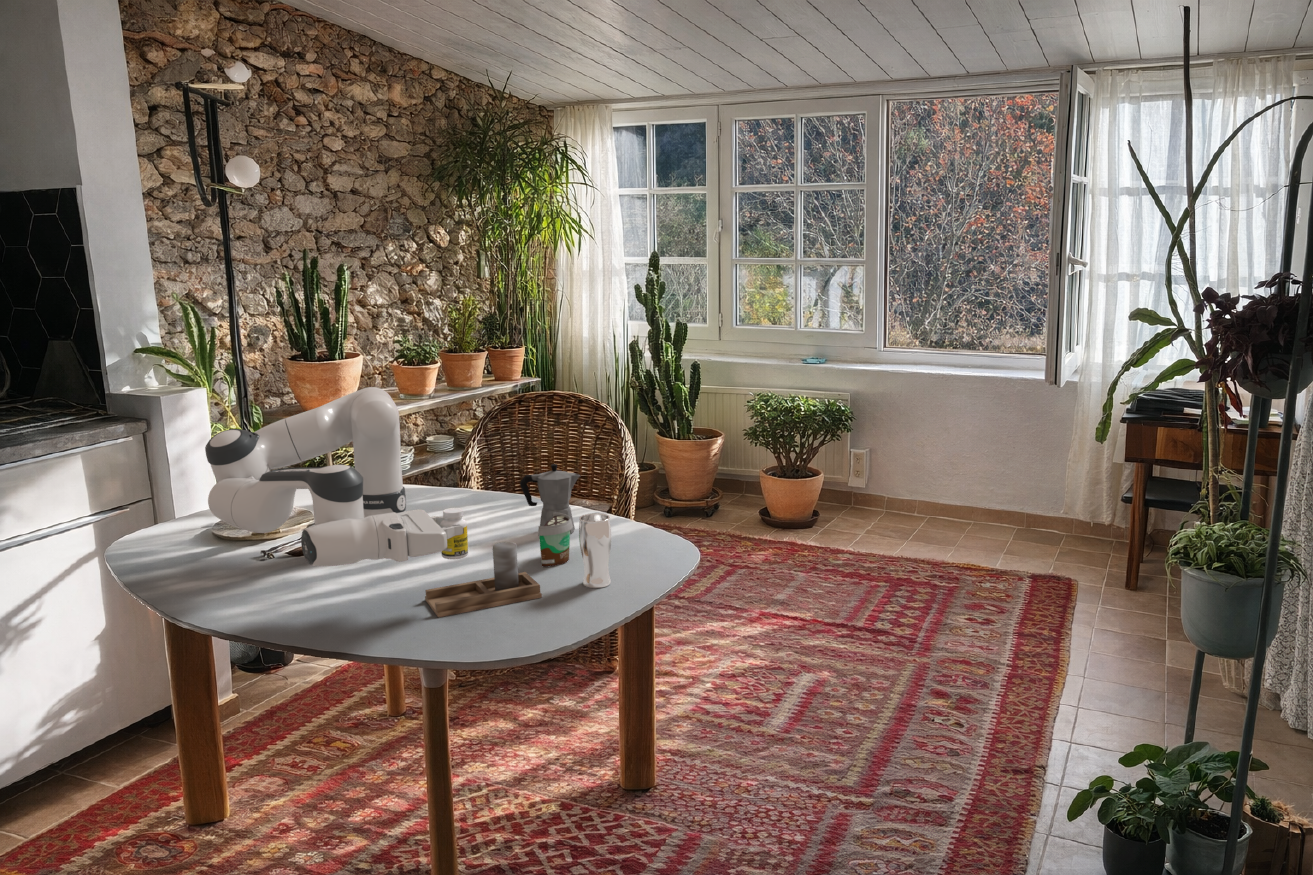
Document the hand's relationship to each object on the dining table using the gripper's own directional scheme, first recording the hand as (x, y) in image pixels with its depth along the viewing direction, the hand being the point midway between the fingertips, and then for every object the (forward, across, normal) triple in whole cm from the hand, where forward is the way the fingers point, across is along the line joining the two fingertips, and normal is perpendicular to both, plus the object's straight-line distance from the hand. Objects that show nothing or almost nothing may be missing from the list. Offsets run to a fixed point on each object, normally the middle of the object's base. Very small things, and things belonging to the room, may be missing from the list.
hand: (457, 524), depth 197 cm
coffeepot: (+34, -37, -17) cm, 53 cm away
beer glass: (+29, +4, -17) cm, 34 cm away
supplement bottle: (-1, 0, -7) cm, 7 cm away
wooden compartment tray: (+4, 0, -17) cm, 17 cm away
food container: (+28, -15, -17) cm, 36 cm away
